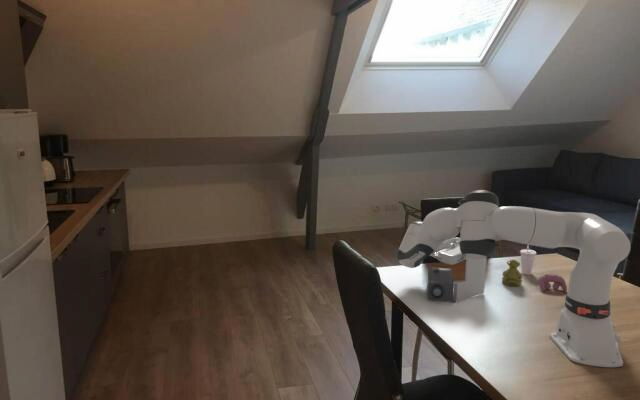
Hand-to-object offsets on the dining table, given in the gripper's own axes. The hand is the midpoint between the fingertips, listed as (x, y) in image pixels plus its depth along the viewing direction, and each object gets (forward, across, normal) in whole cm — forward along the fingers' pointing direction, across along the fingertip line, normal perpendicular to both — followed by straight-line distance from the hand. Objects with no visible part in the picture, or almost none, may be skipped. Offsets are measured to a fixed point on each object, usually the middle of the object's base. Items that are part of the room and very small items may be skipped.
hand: (477, 257), depth 183 cm
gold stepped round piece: (+5, +21, +15) cm, 26 cm away
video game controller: (+18, +26, +15) cm, 35 cm away
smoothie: (+4, +37, +15) cm, 40 cm away
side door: (0, -4, +15) cm, 15 cm away
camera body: (-11, -8, +15) cm, 20 cm away
